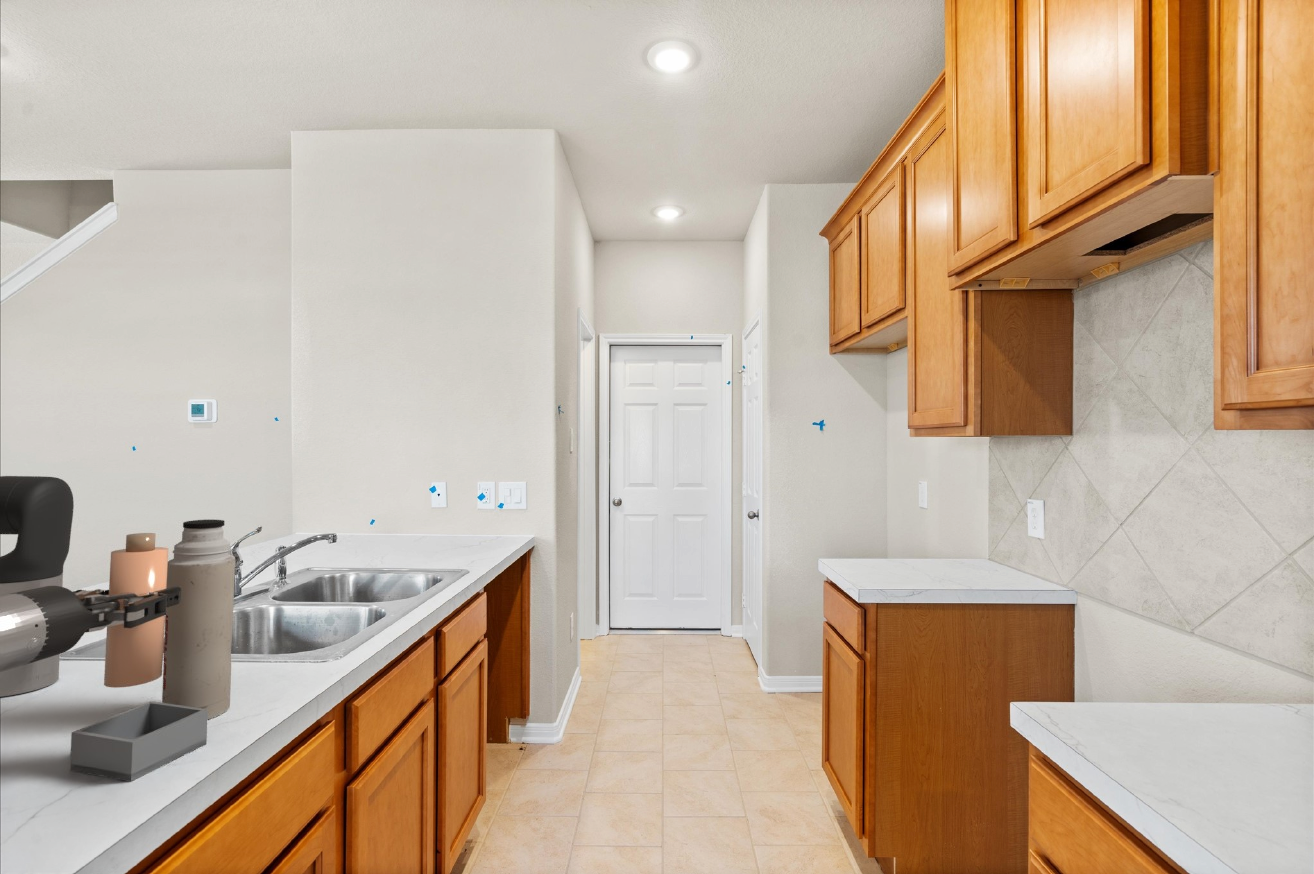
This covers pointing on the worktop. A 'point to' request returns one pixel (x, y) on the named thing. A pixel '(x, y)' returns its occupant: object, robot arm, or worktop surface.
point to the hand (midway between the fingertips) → (155, 593)
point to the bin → (138, 740)
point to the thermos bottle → (200, 620)
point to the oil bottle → (141, 647)
